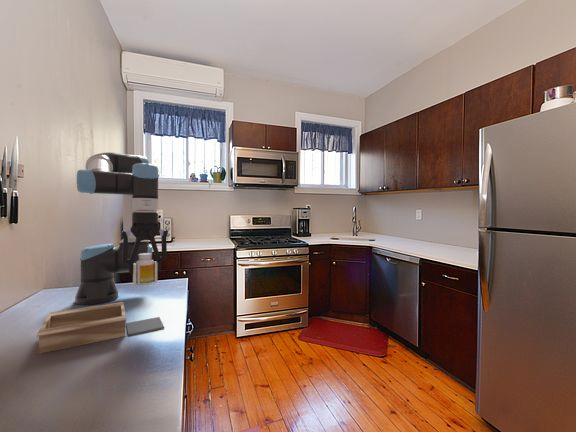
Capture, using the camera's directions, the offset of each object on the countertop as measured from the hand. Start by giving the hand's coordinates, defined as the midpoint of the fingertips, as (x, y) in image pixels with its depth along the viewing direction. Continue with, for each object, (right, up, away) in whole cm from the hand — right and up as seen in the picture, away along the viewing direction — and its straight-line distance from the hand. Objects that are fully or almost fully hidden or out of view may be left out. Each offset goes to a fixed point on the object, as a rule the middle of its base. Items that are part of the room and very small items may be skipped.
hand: (145, 282), depth 89 cm
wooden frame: (-14, -15, -7) cm, 21 cm away
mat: (0, -15, 0) cm, 15 cm away
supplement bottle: (0, -1, 0) cm, 1 cm away
